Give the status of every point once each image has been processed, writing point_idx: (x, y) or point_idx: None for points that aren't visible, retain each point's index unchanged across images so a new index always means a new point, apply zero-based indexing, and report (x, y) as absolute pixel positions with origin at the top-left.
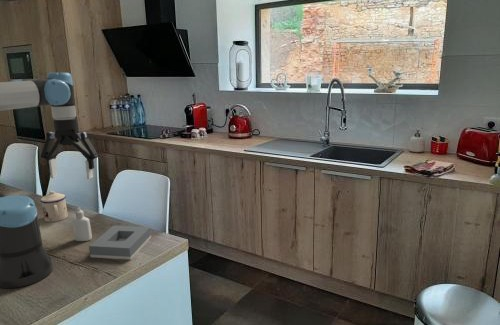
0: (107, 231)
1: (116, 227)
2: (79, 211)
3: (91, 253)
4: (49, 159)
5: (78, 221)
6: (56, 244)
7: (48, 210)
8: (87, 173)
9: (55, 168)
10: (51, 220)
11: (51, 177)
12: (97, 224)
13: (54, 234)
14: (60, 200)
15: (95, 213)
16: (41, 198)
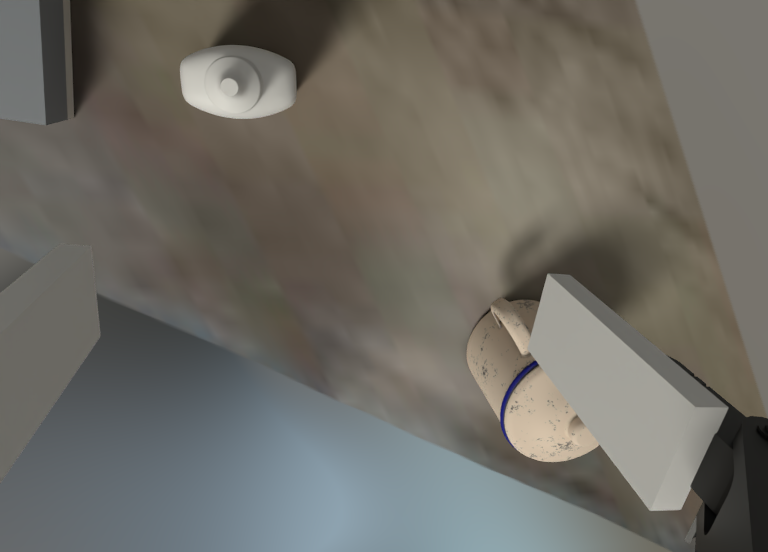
0: (33, 21)
1: (3, 88)
2: (222, 70)
3: None
4: (728, 441)
5: (235, 45)
6: (378, 20)
7: None
8: (43, 274)
9: (578, 388)
10: (521, 302)
11: (569, 277)
12: (265, 272)
13: (444, 154)
14: (511, 383)
15: (342, 399)
16: None
